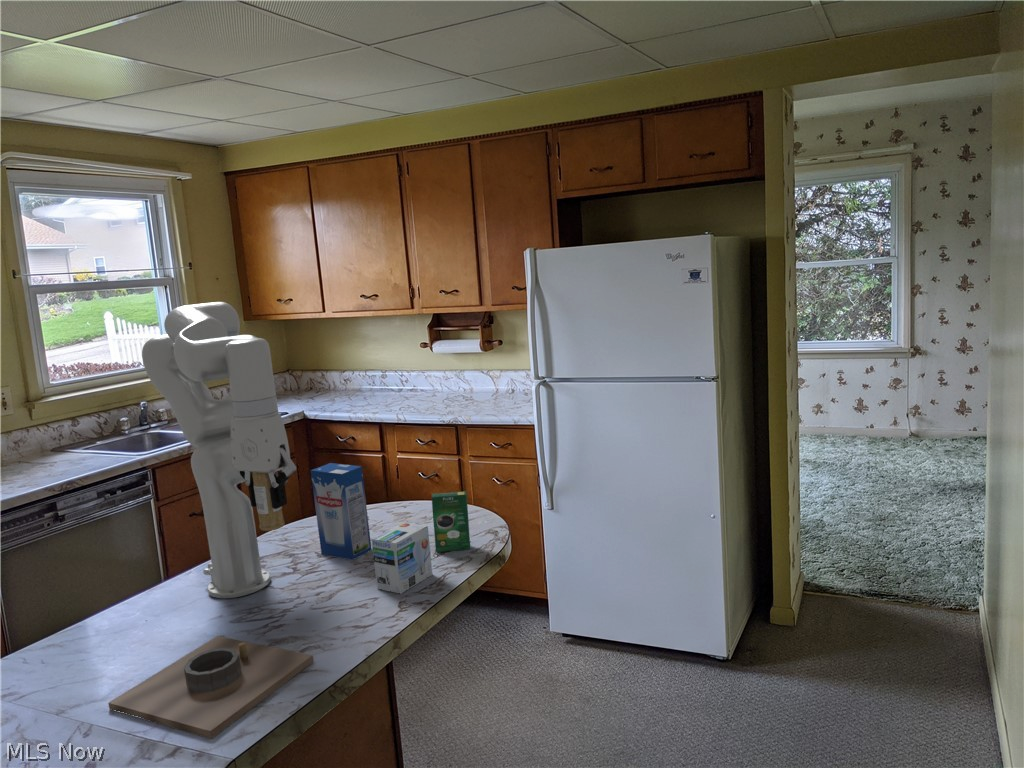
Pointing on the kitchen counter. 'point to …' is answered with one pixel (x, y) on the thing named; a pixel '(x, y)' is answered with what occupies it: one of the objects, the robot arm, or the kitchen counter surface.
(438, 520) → the coffee box
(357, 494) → the milk carton
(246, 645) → the collar board
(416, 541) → the light bulb box
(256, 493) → the sprinkles bottle
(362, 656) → the kitchen counter surface
